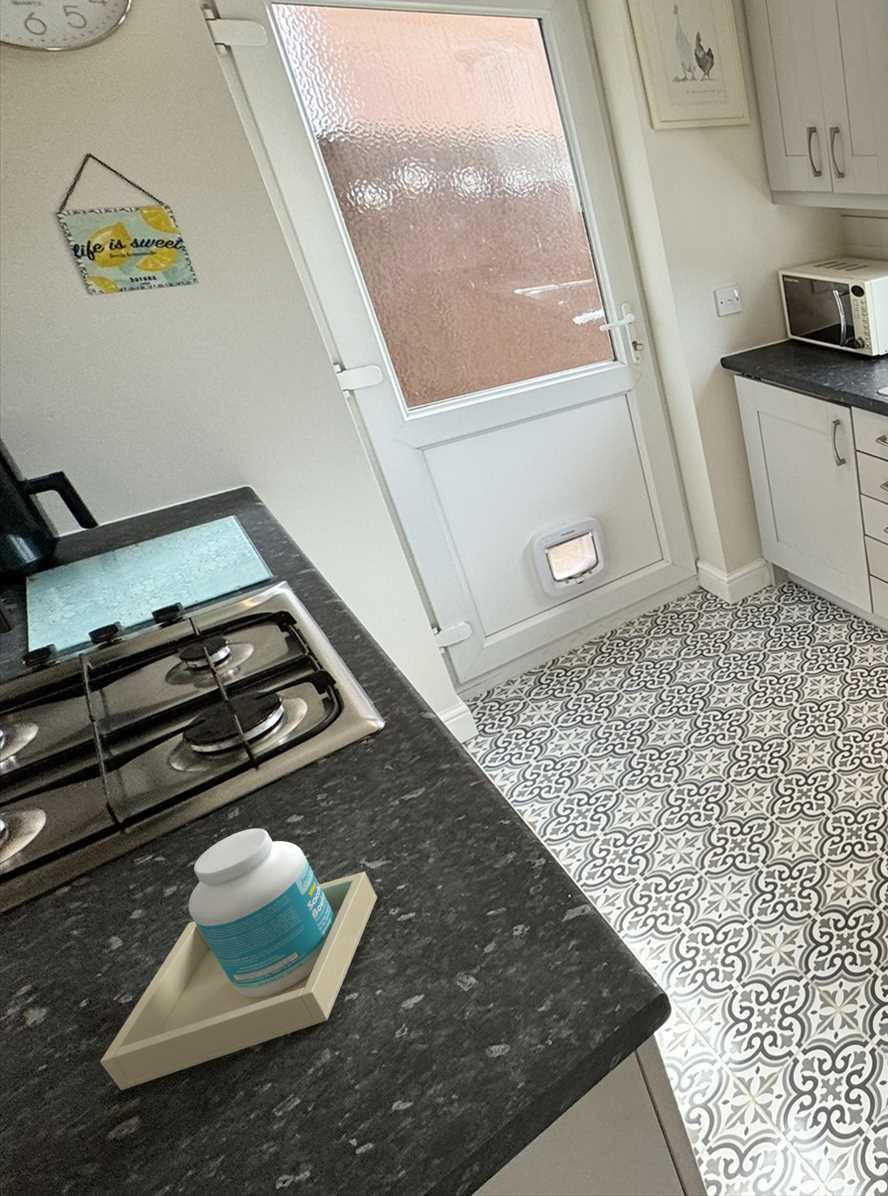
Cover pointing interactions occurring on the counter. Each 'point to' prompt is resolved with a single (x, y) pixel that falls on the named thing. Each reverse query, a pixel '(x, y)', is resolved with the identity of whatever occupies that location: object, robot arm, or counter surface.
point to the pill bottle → (260, 911)
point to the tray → (231, 998)
